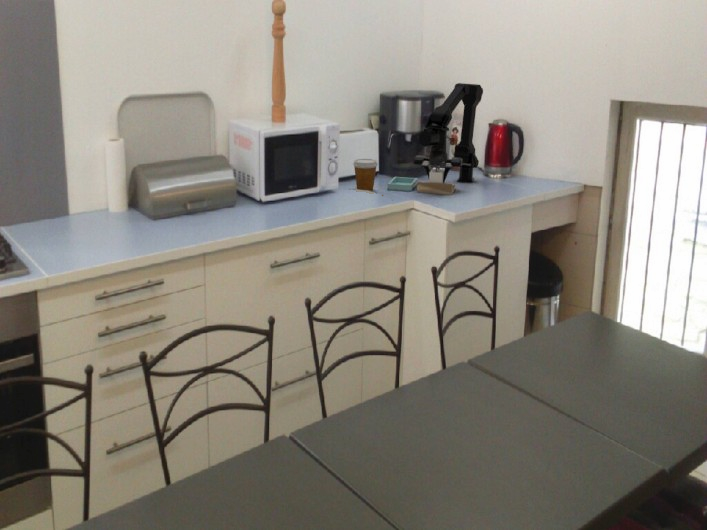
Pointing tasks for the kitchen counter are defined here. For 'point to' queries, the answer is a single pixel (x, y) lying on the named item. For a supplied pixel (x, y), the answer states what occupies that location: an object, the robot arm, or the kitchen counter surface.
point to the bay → (435, 187)
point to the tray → (402, 184)
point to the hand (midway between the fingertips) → (437, 182)
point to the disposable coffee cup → (365, 173)
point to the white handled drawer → (436, 175)
